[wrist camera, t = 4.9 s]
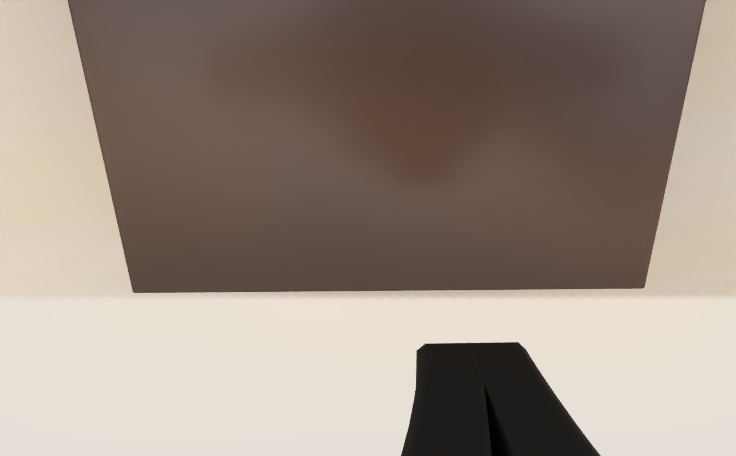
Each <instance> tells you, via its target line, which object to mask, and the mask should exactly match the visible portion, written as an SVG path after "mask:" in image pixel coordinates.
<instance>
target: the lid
mask: <svg viewBox="0 0 736 456" xmlns="http://www.w3.org/2000/svg"><path fill="white" fill-rule="evenodd" d="M705 2H706V0H68V4H69V8H70V13H71V17H72V22H73V26H74V31H75V35H76V39H77V44H78V48H79V53H80V57H81V62H82V66H83V71H84V75H85V80H86V84H87V89H88V93H89V98H90V102H91V106H92V111H93V115H94V120H95V124H96V129H97V133H98V138H99V142H100V147H101V151H102V156H103V160H104V165H105V169H106V173H107V178H108V182H109V187H110V191H111V196H112V200H113V205H114V209H115V214H116V218H117V223H118V227H119V232H120V236H121V240H122V245H123V249H124V254H125V258H126V263H127V267H128V272H129V276H130V281H131V285H132V290H133V292H134V293H175V292H289V291H403V290H518V289H632V288H644V286H645V282H646V277H647V272H648V268H649V263H650V258H651V254H652V249H653V244H654V240H655V235H656V230H657V226H658V221H659V216H660V212H661V207H662V202H663V198H664V193H665V188H666V184H667V179H668V174H669V170H670V165H671V160H672V156H673V151H674V146H675V142H676V137H677V132H678V128H679V123H680V118H681V114H682V109H683V104H684V100H685V95H686V90H687V86H688V81H689V76H690V72H691V67H692V62H693V58H694V53H695V48H696V44H697V39H698V34H699V30H700V25H701V20H702V16H703V11H704V6H705Z"/></svg>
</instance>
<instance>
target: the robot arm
mask: <svg viewBox="0 0 736 456" xmlns="http://www.w3.org/2000/svg"><path fill="white" fill-rule="evenodd" d="M416 365H417V366H416V367H417V368H416V391H415V398H414V403H413V408H412V414H411V419H410V424H409V428H408V432H407V435H406V439H405V443H404V447H403V451H402V455H401V456H600V455H599V453H598V452H597V451H596V449H595V448H594V447H593V446H592V444H591V443H590V442H589V441H588V439H587V438H586V436H585V435H584V434H583V432H582V431H581V430H580V428H579V427H578V426H577V425H576V423H575V422H574V420H573V419H572V418H571V416H570V415H569V413H568V412H567V410H566V409H565V408H564V406H563V405H562V403H561V402H560V401H559V399H558V398H557V396H556V395H555V394H554V392H553V391H552V389H551V388H550V386H549V385H548V383H547V382H546V380H545V379H544V377H543V376H542V374H541V373H540V371H539V370H538V368H537V367H536V365H535V364H534V362H533V361H532V359H531V358H530V356H529V354H528V353H527V351H526V349H525V348H523V347H522V346H521V345H520V344H519V343H518V342H515V343H514V342H512V343H450V344H449V343H448V344H447V343H445V344H425V345H423V346H422V347H421V348H420V349H418V350H417V364H416Z"/></svg>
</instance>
